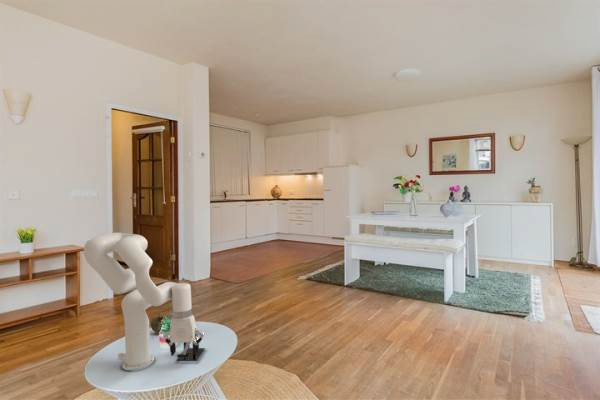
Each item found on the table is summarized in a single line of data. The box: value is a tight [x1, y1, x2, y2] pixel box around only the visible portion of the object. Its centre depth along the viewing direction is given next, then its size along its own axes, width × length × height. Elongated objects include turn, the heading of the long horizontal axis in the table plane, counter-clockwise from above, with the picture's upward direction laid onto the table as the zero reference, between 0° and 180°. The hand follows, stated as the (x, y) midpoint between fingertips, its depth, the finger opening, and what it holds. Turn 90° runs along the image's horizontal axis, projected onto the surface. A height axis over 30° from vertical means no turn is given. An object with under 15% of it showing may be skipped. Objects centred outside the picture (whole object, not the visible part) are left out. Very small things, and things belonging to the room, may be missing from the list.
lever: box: [176, 342, 191, 359], centre depth 147 cm, size 12×5×2 cm, turn 178°
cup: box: [149, 315, 166, 336], centre depth 176 cm, size 8×7×8 cm
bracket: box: [176, 334, 206, 362], centre depth 151 cm, size 11×9×11 cm
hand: (184, 353), depth 142 cm, fingers open, 9 cm apart
